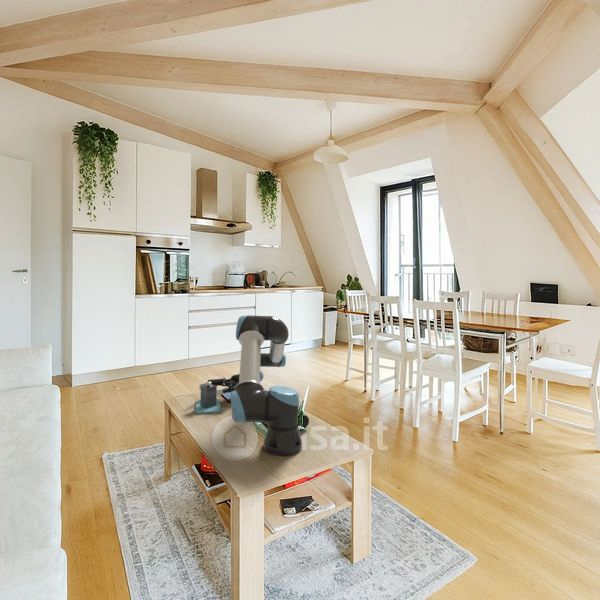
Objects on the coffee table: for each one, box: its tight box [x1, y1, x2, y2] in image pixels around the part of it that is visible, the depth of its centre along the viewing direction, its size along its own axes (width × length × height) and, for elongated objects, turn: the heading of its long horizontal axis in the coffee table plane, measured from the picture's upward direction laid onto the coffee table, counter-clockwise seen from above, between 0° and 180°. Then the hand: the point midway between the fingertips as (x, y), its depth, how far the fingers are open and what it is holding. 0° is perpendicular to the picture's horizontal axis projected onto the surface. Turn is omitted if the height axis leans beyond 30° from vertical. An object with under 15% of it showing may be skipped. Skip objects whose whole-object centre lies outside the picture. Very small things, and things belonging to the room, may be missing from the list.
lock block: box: [200, 381, 218, 408], centre depth 185 cm, size 6×5×12 cm
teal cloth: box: [195, 398, 222, 415], centre depth 187 cm, size 18×12×1 cm, turn 15°
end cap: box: [303, 413, 310, 429], centre depth 166 cm, size 10×7×7 cm
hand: (208, 389), depth 185 cm, fingers open, 13 cm apart
